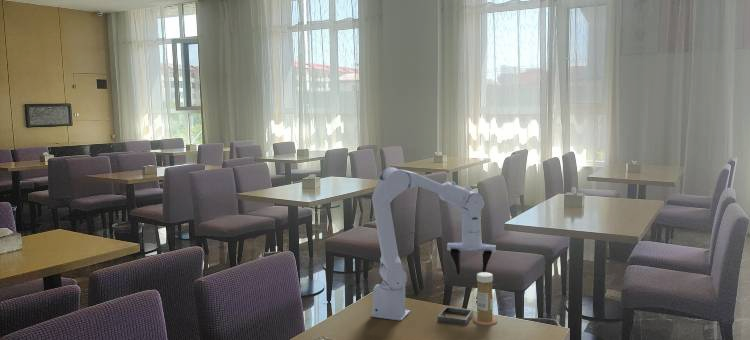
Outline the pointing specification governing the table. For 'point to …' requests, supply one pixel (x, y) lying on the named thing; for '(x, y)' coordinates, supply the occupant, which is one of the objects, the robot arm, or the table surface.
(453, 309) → the square socket
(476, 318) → the terracotta coaster
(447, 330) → the table surface
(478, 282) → the sprinkles bottle
